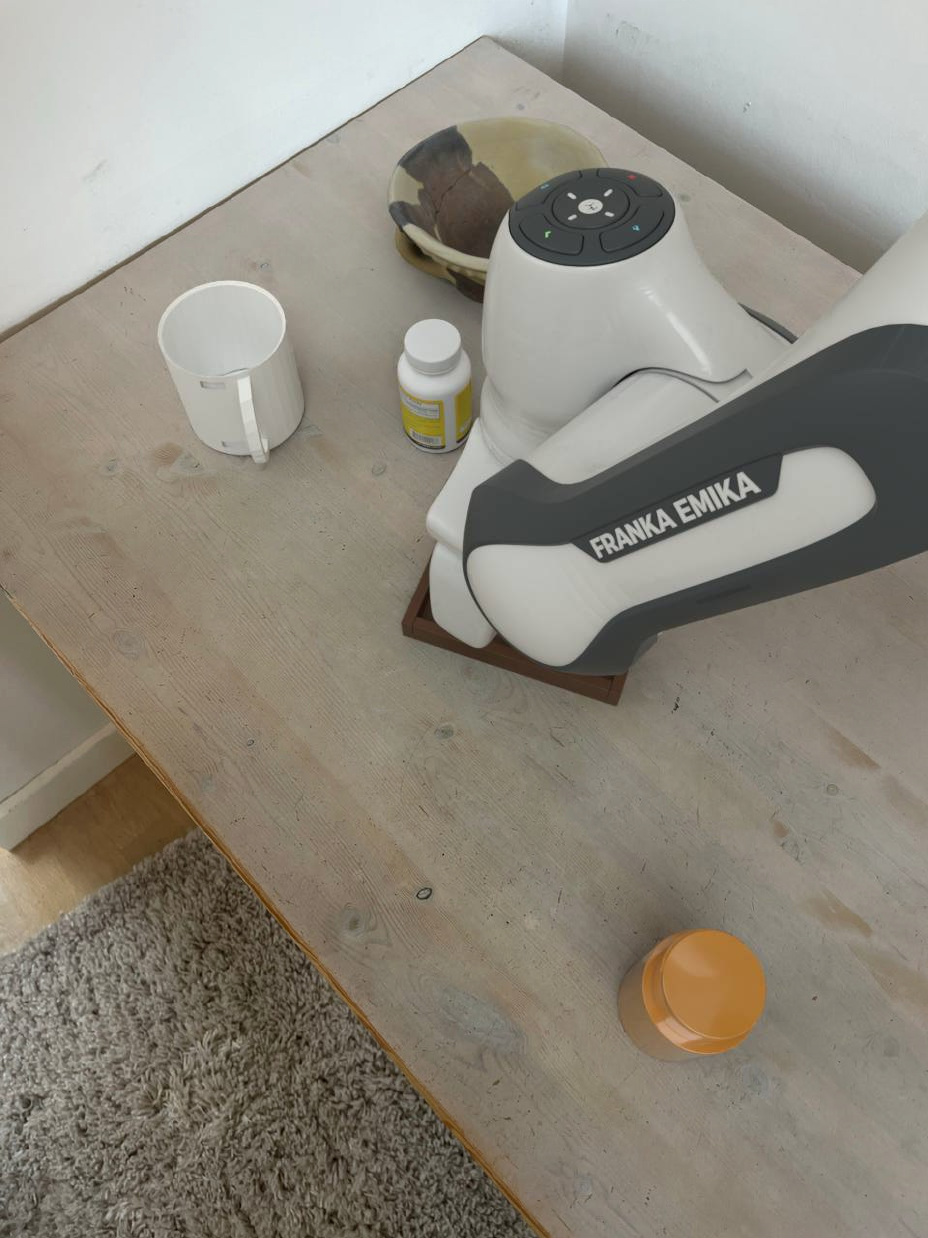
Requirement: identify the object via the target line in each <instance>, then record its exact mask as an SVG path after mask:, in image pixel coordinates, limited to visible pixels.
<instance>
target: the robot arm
mask: <svg viewBox="0 0 928 1238" xmlns="http://www.w3.org/2000/svg"><path fill="white" fill-rule="evenodd" d="M692 236H693V235H692V233H691V230H690V227H689V224H688V221H687V217H686V215H685V212H684V210H683V208H682V206H681V204H680V203H679V201H678V200H677V198H676V197H675V195H674V194H673V193H672V191H670V190H669V189H668V188H667V187H666V186H665V185H663V184H662V183H661V182H659V181H657V180H656V179H654V178H652V177H651V176H649V175H647V174H645V173H641V172H638V171H634V170H631V169H625V168H617V167H609V168H588V169H581V170H574V171H570V172H567V173H564V174H562V175H559V176H557V177H554V178H552V179H550V180H548V181H546V182H545V183H543V184H541V185H539V186H538V187H536V188H535V189H533V190H532V191H530V192H529V193H527V194H526V195H524V196H523V197H522V198H520V199H519V200H518V201H516V202H515V203H514V204H513V205H512V206H511V207H510V209H509V210H508V212H507V213H506V215H505V217H504V219H503V220H502V222H501V224H500V227H499V229H498V232H497V235H496V237H495V240H494V243H493V247H492V250H491V254H490V259H489V264H488V269H487V275H486V283H485V291H484V302H482V303H483V304H482V320H481V321H482V323H481V355H482V361H483V365H484V369H485V372H486V377H485V379H484V382H483V385H482V389H481V394H480V408H479V409H480V410H479V411H480V412H479V416H478V417H476V419H475V420H474V423H473V424H472V427H471V431H470V434H469V436H468V438H467V439H466V442H465V445H464V448H463V450H462V452H461V454H460V457H459V458H458V461H457V462H456V464H455V466H453V469H452V471H451V472H450V474H449V476H448V477H447V479H446V481H445V482H444V484H443V486H442V487H441V489H440V491H439V492H438V493H437V495H436V498H435V499H434V501H433V503H432V504H431V506H430V507H429V509H428V511H427V514H426V518H425V529H426V532H427V533H428V535H430V536H431V537H432V538H434V539H435V540H436V543H435V545H436V546H435V545H434V547H435V548H433V550H434V551H433V550H432V552H433V555H432V558H431V564H430V600H431V609H432V614H433V617H434V620H435V621H436V622H437V624H438V625H440V626H441V627H442V628H443V629H445V630H446V631H447V632H449V633H450V634H452V635H453V636H455V637H456V638H458V639H459V640H461V641H463V642H464V643H466V644H468V645H470V646H472V647H475V648H482V647H485V646H487V645H488V644H489V643H490V642H491V641H492V640H493V638H494V637H495V635H496V634H497V633H498V635H499V636H500V637H501V638H502V639H503V640H504V641H505V642H506V643H508V644H509V645H510V646H511V647H512V648H513V649H514V650H516V651H517V652H518V653H520V654H521V655H522V656H524V657H525V658H527V659H528V660H530V661H532V662H534V663H535V664H537V665H539V666H542V667H544V668H547V669H550V670H555V671H560V672H565V673H571V674H578V675H593V676H605V675H621V674H624V673H625V672H627V671H628V670H629V671H630V669H631V668H632V667H633V666H634V665H635V664H636V663H637V662H638V661H639V660H640V659H641V658H642V657H643V656H645V654H647V652H648V651H649V650H650V649H651V648H652V647H653V646H655V644H656V643H657V642H658V638H659V637H660V636H661V635H662V634H663V633H664V632H665V631H669V630H671V629H675V628H679V627H682V626H685V625H689V624H693V623H696V622H700V621H703V620H707V619H710V618H714V617H718V616H721V615H725V614H729V613H732V612H736V611H739V610H742V609H746V608H750V607H753V606H758V605H761V604H765V603H768V602H771V601H775V600H779V599H782V598H787V597H789V596H793V595H797V594H799V593H803V592H807V591H810V590H815V589H818V588H820V587H825V586H828V585H831V584H834V583H838V582H842V581H845V580H848V579H852V578H854V577H857V576H861V575H864V574H867V573H869V572H872V571H876V570H879V569H881V568H885V567H888V566H890V565H893V564H896V563H898V562H901V561H904V560H906V559H909V558H912V557H914V556H918V555H920V554H923V553H927V552H928V209H927V210H926V211H924V213H922V215H921V216H920V217H919V218H918V219H917V220H916V221H915V222H914V223H913V224H912V225H911V226H910V227H909V228H908V229H907V230H906V231H905V232H904V233H903V234H902V235H901V237H899V238H898V239H897V240H896V241H895V242H894V244H893V245H892V246H890V248H889V249H887V251H886V252H885V253H884V254H882V255H881V257H879V259H878V260H876V261H875V262H874V264H873V265H872V266H871V267H870V268H869V269H868V270H867V271H866V272H865V273H864V274H863V275H862V276H861V277H860V278H858V279H857V281H856V282H855V283H854V284H853V285H852V286H851V287H850V288H849V289H848V290H847V291H846V292H844V294H843V295H842V296H841V297H839V299H838V300H837V301H836V302H835V303H834V304H833V305H832V306H831V307H830V308H829V309H828V310H827V311H826V312H824V313H823V314H822V316H820V317H819V318H818V320H816V321H815V322H814V323H813V324H812V325H811V326H810V327H809V328H808V329H807V330H806V331H805V332H804V333H803V334H802V335H801V336H800V337H798V336H797V335H795V334H794V333H793V332H791V331H790V330H789V329H787V328H786V327H785V326H783V325H781V324H780V323H779V322H777V321H776V320H774V319H772V318H771V317H768V316H767V315H764V314H763V313H760V312H759V311H756V310H755V309H753V308H750V307H748V306H747V305H744V304H743V303H741V302H739V301H737V300H736V299H735V298H734V297H733V296H732V295H731V294H730V293H729V292H728V290H726V288H724V286H723V285H722V284H721V283H720V281H718V280H717V279H716V277H715V276H714V274H713V273H712V272H711V270H710V269H709V268H708V266H707V265H706V264H705V262H704V260H703V258H702V256H701V255H700V253H699V251H698V249H697V247H696V243H695V242H694V239H693V237H692ZM629 671H628V672H629Z"/></svg>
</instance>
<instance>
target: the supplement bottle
mask: <svg viewBox="0 0 928 1238" xmlns="http://www.w3.org/2000/svg"><path fill="white" fill-rule="evenodd" d="M396 372H397V380H398V381H397V382H398V393H399V401H400V402H399V403H400V408H401V409H400V410H401V418H402V425H403V426H402V427H403V431H404V434H405V437H406V438H407V440H408V441H409V442H410V443H411V444H412V445H413V446H414V447H415V448H417V449H418V450H421V451H423V452H426V453H429V454H444V453H448V452H451V451H453V450H456V449H458V448H459V447H460V446H461V445H463V444H464V443H466V442H467V440H468V437H469V435H470V432H471V429H472V427H473V409H472V407H473V406H472V404H473V403H472V397H473V396H472V364H471V360H470V358H469V355H468V354H467V353H466V351H465V350H464V348H463V347H462V339H461V334H460V332H459V330H458V329H457V328H456V327H455V326H454V324H452V323H450V322H449V321H446V320H443V319H440V318H439V319H438V318H429V319H422V320H420V321H418V322H416V323H414V324H413V325H412V326H411V327H409V329H408V330H407V332H406V333H405V335H404V351H403V352H402V354H401V355H400V357H399V359H398V362H397V371H396Z"/></svg>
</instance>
